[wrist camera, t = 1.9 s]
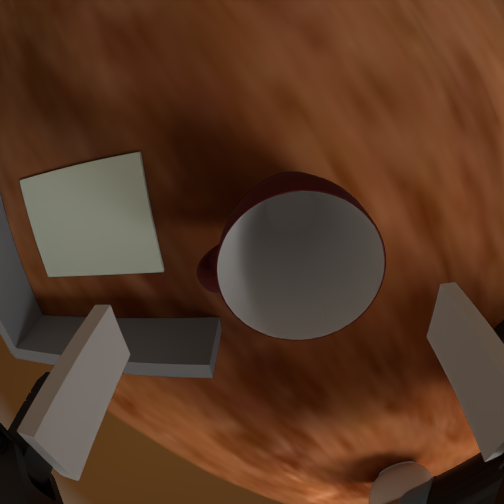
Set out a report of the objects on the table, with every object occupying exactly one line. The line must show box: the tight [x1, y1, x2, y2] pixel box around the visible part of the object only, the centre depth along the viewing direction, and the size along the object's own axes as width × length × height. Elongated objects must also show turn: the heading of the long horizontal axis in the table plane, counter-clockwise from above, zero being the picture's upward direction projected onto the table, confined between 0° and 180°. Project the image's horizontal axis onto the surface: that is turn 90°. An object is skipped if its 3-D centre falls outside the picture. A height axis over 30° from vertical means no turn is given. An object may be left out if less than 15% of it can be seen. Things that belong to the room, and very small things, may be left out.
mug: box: [197, 172, 386, 341], centre depth 19 cm, size 10×8×10 cm
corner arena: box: [0, 152, 222, 378], centre depth 23 cm, size 22×20×6 cm
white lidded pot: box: [369, 461, 433, 504], centre depth 38 cm, size 13×13×11 cm
